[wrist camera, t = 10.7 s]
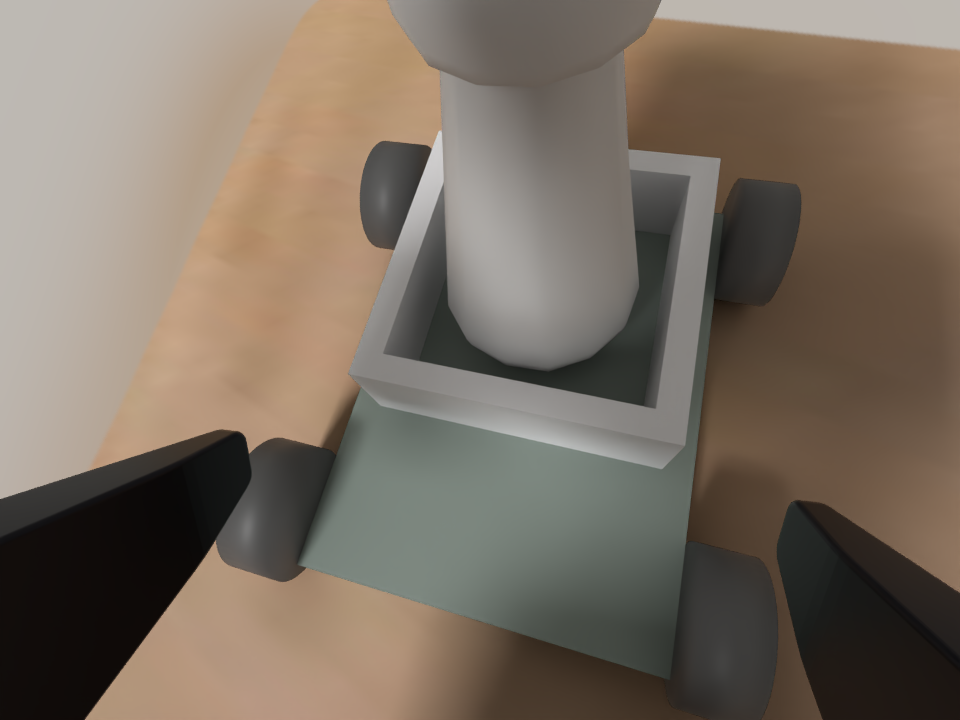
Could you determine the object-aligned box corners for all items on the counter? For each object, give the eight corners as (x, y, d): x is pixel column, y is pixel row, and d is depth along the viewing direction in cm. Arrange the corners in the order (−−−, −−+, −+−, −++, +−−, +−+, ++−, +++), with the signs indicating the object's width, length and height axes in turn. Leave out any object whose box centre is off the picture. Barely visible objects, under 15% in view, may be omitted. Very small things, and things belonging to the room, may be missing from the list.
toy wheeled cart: (716, 709, 14) (781, 761, 10) (269, 568, 17) (181, 565, 13) (757, 234, 20) (810, 144, 16) (412, 190, 23) (381, 105, 19)
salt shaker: (593, 420, 16) (697, 3, 4) (433, 361, 18) (192, -67, 6) (649, 269, 18) (829, -314, 6) (498, 227, 20) (414, -306, 8)
